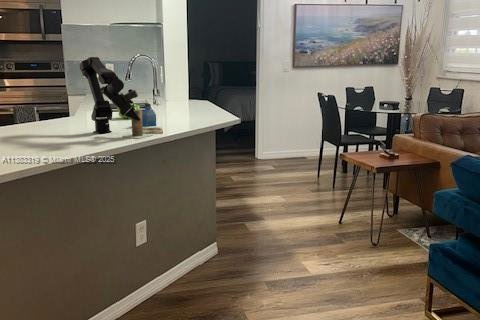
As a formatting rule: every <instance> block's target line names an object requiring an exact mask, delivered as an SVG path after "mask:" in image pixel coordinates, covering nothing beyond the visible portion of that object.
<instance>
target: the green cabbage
mask: <svg viewBox="0 0 480 320" xmlns="http://www.w3.org/2000/svg"><path fill="white" fill-rule="evenodd" d="M133 104H134V108H135V110H141V109H140V105H137V104H136V103H132V105H133ZM116 111H117V112H118V116H119V117H121V120H122V119H123V120H124V119H127V118H128V120H132V119H131V118H130V117H127V116H124V115H125V114H126V113H125V114H124V115H123V116H122V115H121V114H120V109H119V108H118V107H117V106H116Z"/></svg>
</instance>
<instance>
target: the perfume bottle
mask: <svg viewBox="0 0 480 320" xmlns="http://www.w3.org/2000/svg"><path fill="white" fill-rule="evenodd" d="M151 108H152V105H151V103H147V102H146V103H144V109H141V110H142V126H143V127H144V128H151V127H157V114H156V112H155V111H154V109H151ZM150 126H151V127H150Z"/></svg>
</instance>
